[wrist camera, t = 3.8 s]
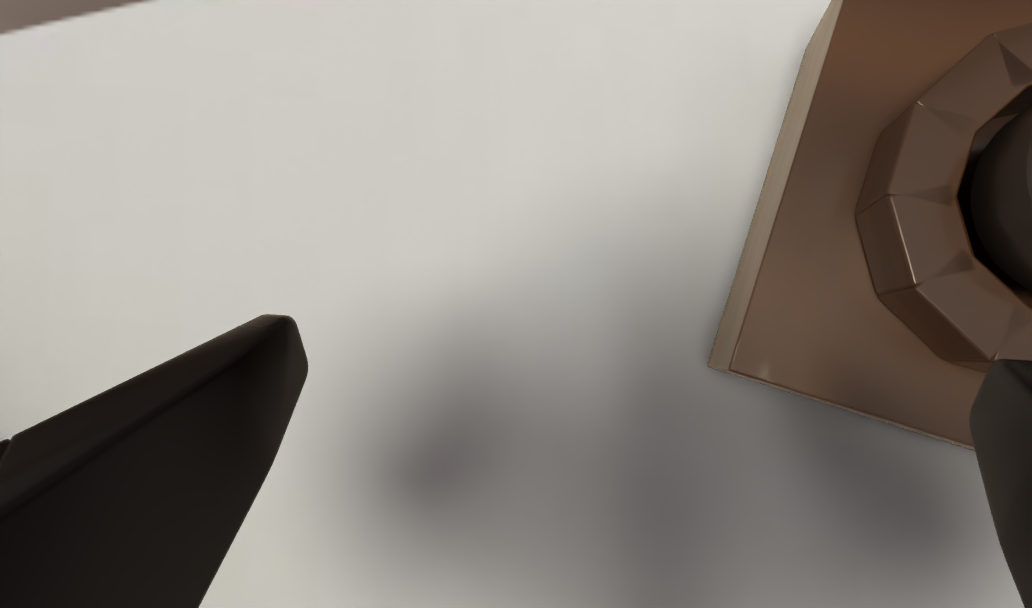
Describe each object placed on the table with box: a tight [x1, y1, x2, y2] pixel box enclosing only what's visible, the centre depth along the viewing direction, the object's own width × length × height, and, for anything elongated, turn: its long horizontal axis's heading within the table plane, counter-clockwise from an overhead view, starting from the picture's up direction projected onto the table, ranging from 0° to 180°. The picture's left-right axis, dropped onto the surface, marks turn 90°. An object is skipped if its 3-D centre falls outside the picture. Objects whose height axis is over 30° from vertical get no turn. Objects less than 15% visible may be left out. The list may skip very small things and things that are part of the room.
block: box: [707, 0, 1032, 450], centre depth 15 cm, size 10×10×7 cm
